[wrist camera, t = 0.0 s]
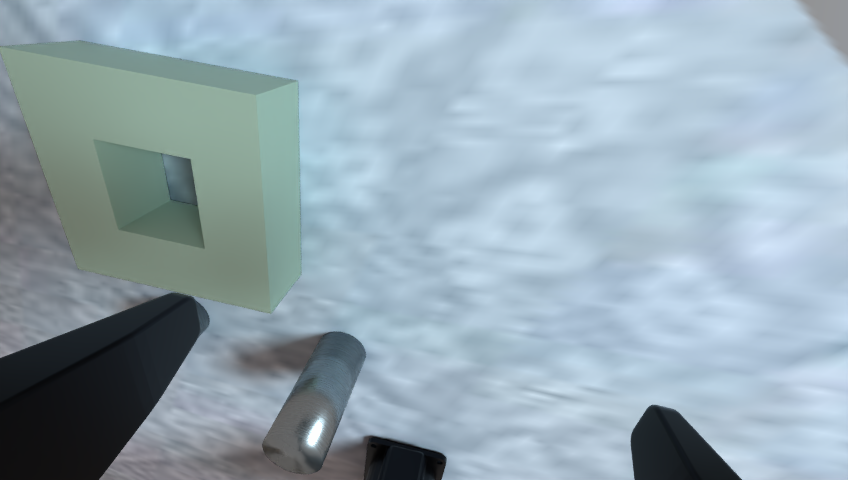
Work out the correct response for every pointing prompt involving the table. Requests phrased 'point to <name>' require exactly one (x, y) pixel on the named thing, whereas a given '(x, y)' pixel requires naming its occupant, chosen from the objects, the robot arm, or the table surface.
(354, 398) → the table surface
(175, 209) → the hole block
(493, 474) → the table surface
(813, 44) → the table surface
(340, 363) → the long pin
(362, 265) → the table surface
